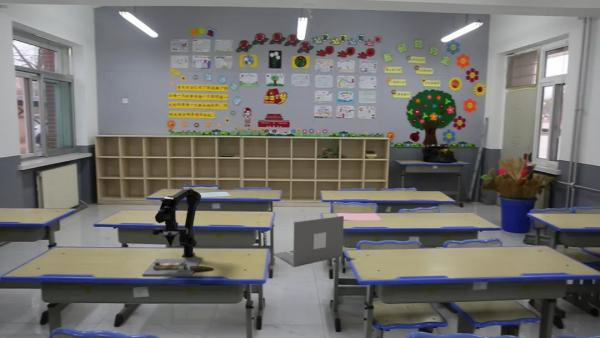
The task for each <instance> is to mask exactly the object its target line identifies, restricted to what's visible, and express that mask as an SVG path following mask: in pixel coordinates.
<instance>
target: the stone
mask: <svg viewBox="0 0 600 338" xmlns="http://www.w3.org/2000/svg"><path fill="white" fill-rule="evenodd" d="M190 269H192V270H195V271H198V272H199V271H201V272H205V271H213V270H214V268H213V267H210V266H206V265H205V266H204V265H198V266H190Z"/></svg>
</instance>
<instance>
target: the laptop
mask: <svg viewBox="0 0 600 338" xmlns="http://www.w3.org/2000/svg"><path fill="white" fill-rule="evenodd" d="M343 243H344V215H340V216H339V215H338V216H332V217H324V218H316V219H308V220H299V221H293V250H289V252H288V251H283V252H278V253H277V252H276V253H273V256H275V257H276V258H278V259H280V260H281V261H282V262H285V263H286V264H288V265H290V266H291V267H293V268H296V267H301V266H306V265H311V264H314V263H319V262H324V261H327V260H332V259H337V258H341V257H343V254H344V252H343V250H344V249H343V248H344V247H343Z"/></svg>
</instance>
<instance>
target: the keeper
mask: <svg viewBox="0 0 600 338" xmlns="http://www.w3.org/2000/svg"><path fill="white" fill-rule="evenodd" d="M185 263H186V262H180V263H179V264H178V271H184V264H185Z"/></svg>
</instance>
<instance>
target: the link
mask: <svg viewBox="0 0 600 338" xmlns="http://www.w3.org/2000/svg"><path fill="white" fill-rule="evenodd" d="M178 264H179V263H159V262H155V263H154V264H153V269H171V268H178ZM186 267H187V263H185V264H184V268H186Z"/></svg>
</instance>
